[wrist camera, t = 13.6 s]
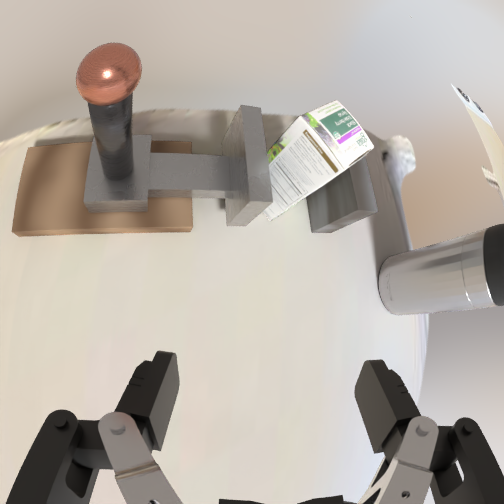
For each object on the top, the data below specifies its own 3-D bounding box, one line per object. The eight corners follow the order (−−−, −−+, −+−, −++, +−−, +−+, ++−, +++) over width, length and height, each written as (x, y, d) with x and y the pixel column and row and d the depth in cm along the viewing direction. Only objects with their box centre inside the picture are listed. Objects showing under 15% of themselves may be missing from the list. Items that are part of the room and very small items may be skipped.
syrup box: (271, 164, 35) (335, 94, 21) (300, 199, 35) (377, 145, 22) (239, 185, 33) (297, 111, 19) (270, 224, 33) (347, 170, 20)
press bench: (318, 164, 38) (357, 132, 29) (330, 232, 36) (378, 211, 28) (33, 155, 24) (8, 112, 16) (19, 236, 22) (-20, 209, 14)
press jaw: (238, 144, 31) (308, 36, 16) (245, 226, 29) (345, 142, 14) (99, 139, 25) (84, 12, 10) (88, 227, 24) (27, 124, 8)
